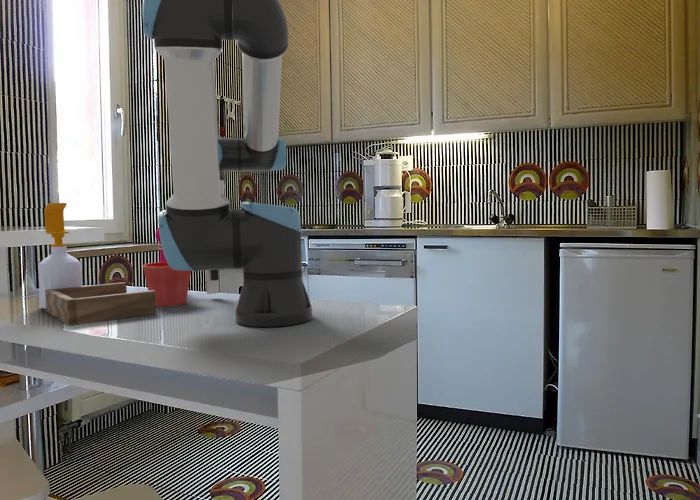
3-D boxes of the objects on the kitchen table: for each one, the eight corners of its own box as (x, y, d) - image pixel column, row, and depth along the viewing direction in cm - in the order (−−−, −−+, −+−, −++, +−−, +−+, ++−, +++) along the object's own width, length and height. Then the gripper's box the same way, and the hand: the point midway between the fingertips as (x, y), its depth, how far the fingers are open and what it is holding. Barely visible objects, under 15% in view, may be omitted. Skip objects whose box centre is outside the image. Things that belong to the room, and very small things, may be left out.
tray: (156, 313, 128) (155, 290, 127) (69, 325, 117) (67, 300, 117) (125, 302, 144) (124, 282, 144) (46, 311, 134) (45, 289, 133)
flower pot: (193, 306, 137) (191, 264, 136) (143, 309, 134) (141, 266, 133) (192, 299, 147) (191, 260, 146) (146, 302, 144) (144, 262, 143)
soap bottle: (45, 311, 134) (39, 203, 132) (37, 306, 141) (30, 203, 139) (87, 306, 140) (81, 202, 138) (77, 302, 147) (71, 203, 145)
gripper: (235, 197, 143) (238, 294, 144) (212, 198, 153) (215, 288, 155) (206, 197, 138) (210, 297, 140) (184, 199, 148) (188, 292, 150)
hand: (213, 293), depth 147 cm, fingers closed
